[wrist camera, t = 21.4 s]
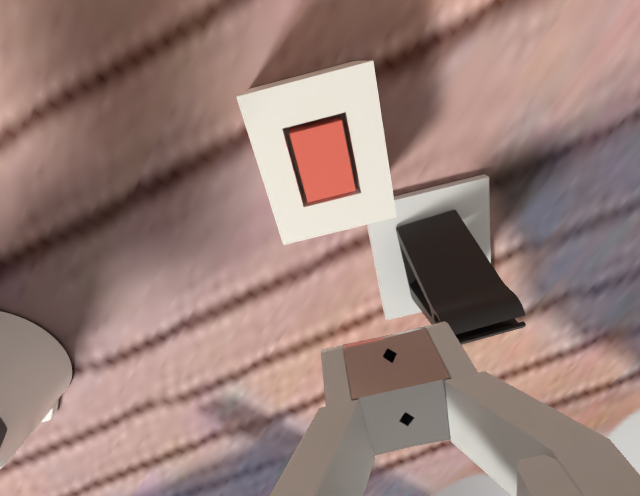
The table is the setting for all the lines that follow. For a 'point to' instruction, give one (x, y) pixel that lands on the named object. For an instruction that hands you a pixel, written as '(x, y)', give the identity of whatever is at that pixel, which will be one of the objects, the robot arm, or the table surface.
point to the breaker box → (361, 138)
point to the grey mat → (418, 205)
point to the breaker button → (322, 158)
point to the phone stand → (456, 279)
